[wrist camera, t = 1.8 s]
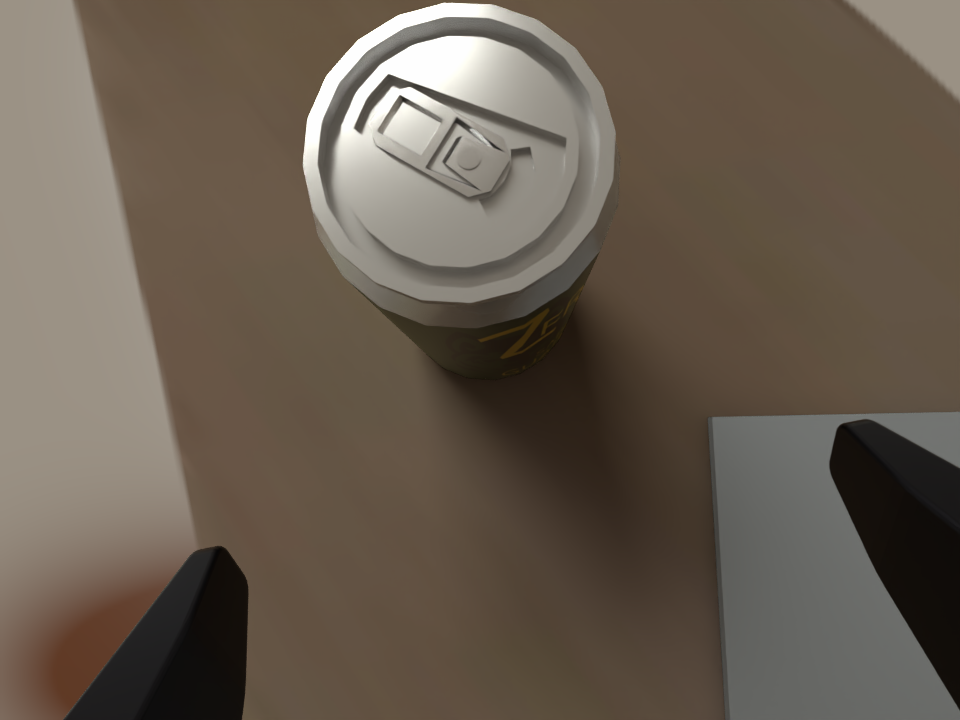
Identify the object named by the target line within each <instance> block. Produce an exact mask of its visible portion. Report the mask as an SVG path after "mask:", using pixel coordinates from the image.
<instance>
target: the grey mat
mask: <svg viewBox="0 0 960 720" xmlns="http://www.w3.org/2000/svg"><path fill="white" fill-rule="evenodd" d="M862 419H870V420H873V421H875V422H877V423H879V424H881V425H883V426H885V427H887V428H888V429H890V430H892V431H894V432H896V433H897V434H899V435H901V436H903V437H905V438H907V439H908V440H910V441H912V442H914V443H916V444H917V445H919V446H921V447H923V448H925V449H927V450H928V451H930V452H932V453H934V454H936V455H937V456H939V457H941V458H943V459H945V460H947V461H948V462H950V463H952V464H954V465H956V466H957V467H959V468H960V412H934V413H886V414H838V415H789V416H741V417H708V431H709V448H710V465H711V482H712V499H713V516H714V533H715V550H716V568H717V585H718V602H719V619H720V636H721V653H722V670H723V687H724V704H725V720H960V710H959V709H958V707H957V705H956V704H955V702H954V700H953V699H952V697H951V696H950V694H949V692H948V691H947V689H946V687H945V686H944V684H943V682H942V681H941V679H940V677H939V676H938V674H937V672H936V671H935V669H934V668H933V666H932V664H931V663H930V661H929V659H928V658H927V656H926V654H925V653H924V651H923V649H922V648H921V646H920V644H919V643H918V641H917V640H916V638H915V636H914V635H913V633H912V631H911V630H910V628H909V626H908V625H907V623H906V621H905V620H904V618H903V616H902V615H901V613H900V612H899V610H898V608H897V607H896V605H895V603H894V602H893V600H892V598H891V597H890V595H889V593H888V592H887V590H886V588H885V587H884V585H883V583H882V581H881V580H880V578H879V576H878V574H877V573H876V571H875V569H874V567H873V565H872V563H871V561H870V559H869V557H868V554H867V552H866V550H865V548H864V546H863V544H862V542H861V539H860V537H859V535H858V533H857V531H856V529H855V526H854V524H853V522H852V520H851V518H850V516H849V514H848V511H847V509H846V507H845V505H844V503H843V501H842V499H841V496H840V494H839V492H838V490H837V488H836V486H835V483H834V481H833V479H832V477H831V473H830V469H829V460H830V456H831V451H832V447H833V442H834V438H835V433H836V430H837V428H838V427H839V425H840V424H843V423H846V422H851V421H856V420H862Z"/></svg>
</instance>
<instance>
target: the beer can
mask: <svg viewBox="0 0 960 720" xmlns="http://www.w3.org/2000/svg"><path fill="white" fill-rule="evenodd" d="M615 133H616V132H615V128H614V125H613V122H612V118H611V115H610V111H609V108H608V104H607V101H606V97H605V94H604V90H603V87H602V85H601V84H600V82H599V81H598V80H597V78H596V77H595V75H594V74H593V72H592V71H591V70H590V68H589V67H588V65H587V64H586V62H585V61H584V60H583V58H582V57H581V55H580V54H579V52H578V51H577V50H576V48H575V47H573V46H572V45H571V44H569V43H568V42H567V41H565V40H564V39H563V38H561V37H560V36H558V35H557V34H556V33H554V32H553V31H552V30H550V29H549V28H548V27H546V26H545V25H544V24H542V23H541V22H540V21H538V20H536V19H533V18H530V17H528V16H525V15H522V14H519V13H516V12H513V11H510V10H507V9H504V8H501V7H498V6H496V5H492V4H460V3H443V4H439V5H435V6H432V7H428V8H424V9H421V10H417V11H413V12H409V13H406V14H402V15H398V16H397V17H395V18H393V19H392V20H390V21H389V22H387V23H385V24H384V25H382V26H380V27H379V28H377V29H376V30H374V31H372V32H371V33H369V34H368V35H366V36H364V37H363V38H361V39H359V40H358V41H357V42H356V43H355V44H354V45H353V47H352V48H351V49H350V50H349V51H348V52H347V53H346V54H345V56H344V57H343V58H342V59H341V60H340V61H339V62H338V64H337V65H336V66H335V67H334V68H333V69H332V70H331V71H330V73H329V74H328V75H327V76H326V78H325V81H324V83H323V85H322V87H321V90H320V92H319V94H318V96H317V99H316V101H315V103H314V105H313V108H312V110H311V112H310V114H309V117H308V119H307V129H306V138H305V148H304V158H303V169H304V173H305V178H306V182H307V186H308V192H309V197H310V201H311V206H312V210H313V215H314V219H315V223H316V228H317V232H318V236H319V238H320V240H321V241H322V243H323V244H324V246H325V248H326V249H327V251H328V253H329V254H330V256H331V258H332V259H333V261H334V262H335V264H336V266H337V267H338V269H339V271H340V272H341V274H342V275H343V277H344V278H345V279H346V280H347V281H349V282H350V283H351V284H352V285H353V286H354V287H355V288H356V289H357V290H358V291H359V292H360V293H361V294H363V295H364V296H365V297H366V298H367V299H368V300H369V301H370V302H371V303H372V304H373V305H374V306H375V307H376V308H378V309H379V310H380V311H381V312H382V313H383V314H384V315H385V316H386V317H387V318H388V319H389V320H390V321H392V322H393V323H394V324H395V325H396V326H397V327H398V328H399V329H400V330H401V331H402V332H403V333H404V334H406V335H407V336H408V337H409V338H410V339H411V340H412V341H413V342H414V343H415V344H416V345H417V346H418V347H419V348H421V349H422V350H423V351H424V352H425V353H426V354H427V355H429V356H430V357H431V358H432V359H433V360H434V361H436V362H437V363H438V364H439V365H440V366H442V367H443V368H444V369H446V370H449V371H451V372H454V373H456V374H459V375H461V376H464V377H466V378H472V379H487V380H497V379H501V378H505V377H508V376H512V375H516V374H520V373H522V372H523V371H525V370H527V369H528V368H530V367H531V366H533V365H535V364H536V363H538V362H539V361H541V360H543V358H544V357H545V356H546V355H547V354H548V352H549V351H550V350H551V349H552V348H553V346H554V345H555V344H556V343H557V342H558V340H559V339H560V337H561V335H562V333H563V330H564V328H565V326H566V324H567V322H568V320H569V317H570V315H571V313H572V311H573V309H574V307H575V304H576V302H577V300H578V298H579V296H580V293H581V291H582V289H583V287H584V285H585V283H586V280H587V278H588V276H589V274H590V272H591V270H592V267H593V265H594V263H595V261H596V259H597V256H598V254H599V252H600V250H601V247H602V245H603V242H604V240H605V237H606V235H607V232H608V229H609V227H610V224H611V222H612V219H613V217H614V214H615V212H616V209H617V207H618V195H619V174H620V155H619V151H618V148H617V144H616V141H615Z"/></svg>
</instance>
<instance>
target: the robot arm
mask: <svg viewBox="0 0 960 720" xmlns="http://www.w3.org/2000/svg"><path fill="white" fill-rule="evenodd" d="M829 469H830V473H831V477H832V479H833V481H834V483H835V486H836V488H837V490H838V492H839V494H840V496H841V499H842V501H843V503H844V505H845V507H846V509H847V511H848V514H849V516H850V518H851V520H852V522H853V524H854V526H855V529H856V531H857V533H858V535H859V537H860V539H861V542H862V544H863V546H864V548H865V550H866V552H867V554H868V557H869V559H870V561H871V563H872V565H873V567H874V569H875V571H876V573H877V574H878V576H879V578H880V580H881V581H882V583H883V585H884V587H885V588H886V590H887V592H888V593H889V595H890V597H891V598H892V600H893V602H894V603H895V605H896V607H897V608H898V610H899V612H900V613H901V615H902V616H903V618H904V620H905V621H906V623H907V625H908V626H909V628H910V630H911V631H912V633H913V635H914V636H915V638H916V640H917V641H918V643H919V644H920V646H921V648H922V649H923V651H924V653H925V654H926V656H927V658H928V659H929V661H930V663H931V664H932V666H933V668H934V669H935V671H936V672H937V674H938V676H939V677H940V679H941V681H942V682H943V684H944V686H945V687H946V689H947V691H948V692H949V694H950V696H951V697H952V699H953V700H954V702H955V704H956V705H957V707H958V709H959V710H960V468H959V467H957V466H956V465H954V464H952V463H950V462H948V461H947V460H945V459H943V458H941V457H939V456H937V455H936V454H934V453H932V452H930V451H928V450H927V449H925V448H923V447H921V446H919V445H917V444H916V443H914V442H912V441H910V440H908V439H907V438H905V437H903V436H901V435H899V434H897V433H896V432H894V431H892V430H890V429H888V428H887V427H885V426H883V425H881V424H879V423H877V422H875V421H873V420H870V419H862V420H856V421H851V422H846V423H843V424H840V425H839V427H838V428H837V430H836V433H835V438H834V442H833V447H832V451H831V456H830V460H829ZM247 625H248V584H247V580H246V577H245V575H244V574H243V572H242V571H241V569H240V568H239V566H238V565H237V563H236V562H235V561H234V559H233V558H232V556H231V555H230V553H229V552H228V551H227V549H226V548H224V547H222V546H215V547H210V548H205V549H200V550H197V551H195V552H193V554H191V555H190V556H189V557H188V559H187V560H186V561H185V563H184V564H183V565H182V567H181V568H180V569H179V570H178V572H177V573H176V574H175V575H174V577H173V578H172V579H171V581H170V582H169V583H168V585H167V586H166V587H165V588H164V590H163V591H162V592H161V594H160V595H159V596H158V598H157V599H156V600H155V601H154V603H153V604H152V605H151V607H150V608H149V609H148V610H147V612H146V613H145V614H144V616H143V617H142V618H141V620H140V621H139V622H138V624H137V625H136V626H135V627H134V629H133V630H132V631H131V633H130V634H129V635H128V636H127V638H126V639H125V640H124V642H123V643H122V644H121V645H120V647H119V648H118V649H117V651H116V652H115V653H114V655H113V656H112V657H111V659H110V660H109V661H108V662H107V664H106V665H105V666H104V667H103V669H102V670H101V671H100V673H99V674H98V675H97V677H96V678H95V679H94V681H93V682H92V683H91V684H90V686H89V687H88V688H87V689H86V691H85V692H84V693H83V695H82V696H81V697H80V699H79V700H78V701H77V703H76V704H75V705H74V706H73V708H72V709H71V710H70V712H69V713H68V714H67V715H66V717H65V718H64V719H63V720H242V715H243V707H244V698H245V686H246V660H247Z"/></svg>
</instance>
